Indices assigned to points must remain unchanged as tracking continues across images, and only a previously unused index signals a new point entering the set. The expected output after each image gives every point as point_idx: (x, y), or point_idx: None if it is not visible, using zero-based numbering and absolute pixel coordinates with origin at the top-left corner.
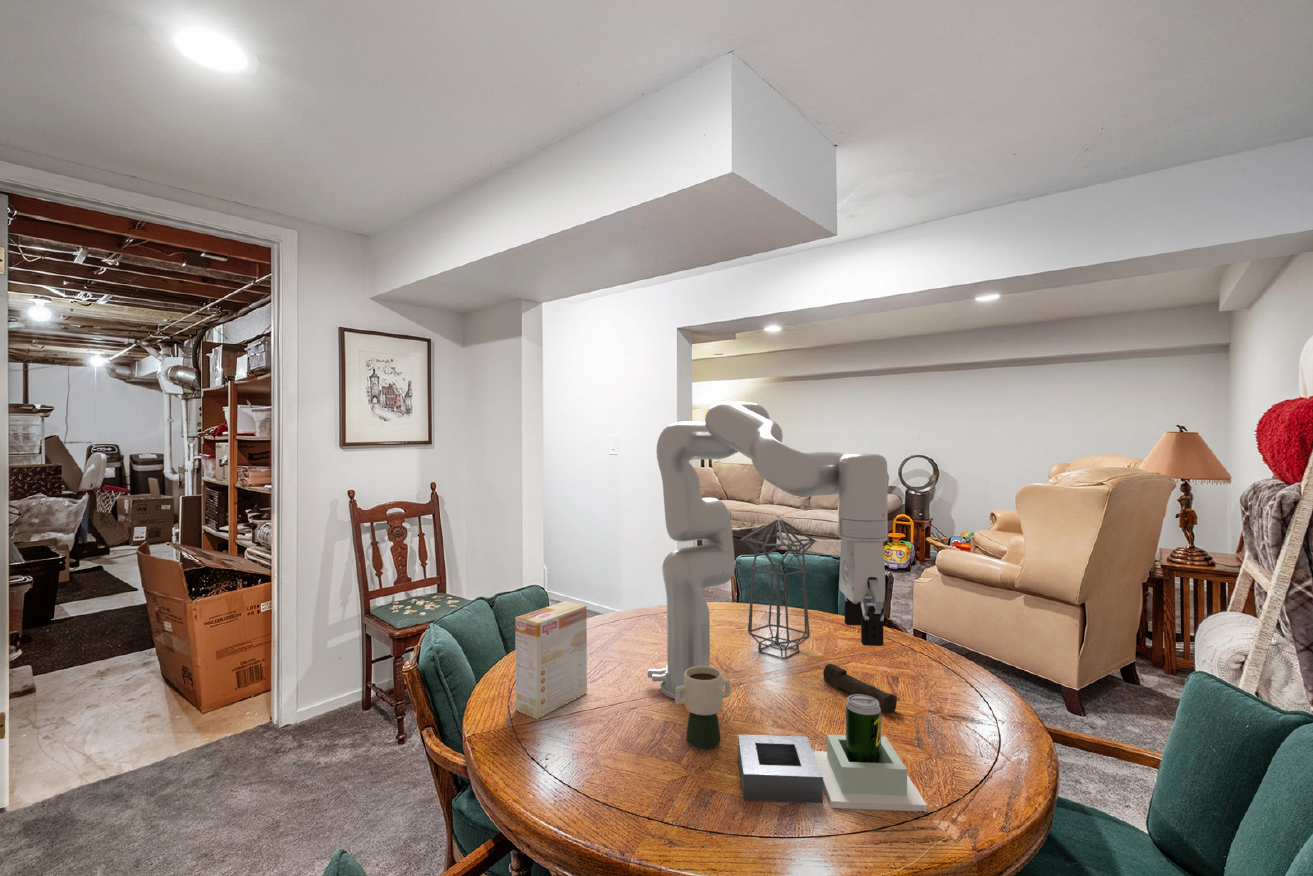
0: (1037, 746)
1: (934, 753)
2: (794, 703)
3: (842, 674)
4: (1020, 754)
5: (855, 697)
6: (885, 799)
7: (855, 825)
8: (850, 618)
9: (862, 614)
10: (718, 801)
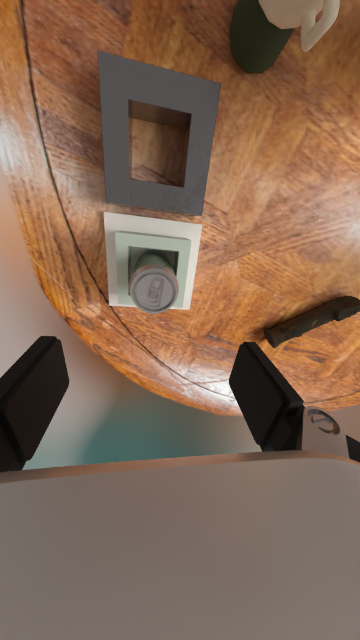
0: (197, 405)
1: (195, 342)
2: (315, 242)
3: (334, 314)
4: (188, 393)
5: (166, 285)
6: (113, 272)
7: (79, 228)
8: (245, 365)
9: (241, 405)
10: (100, 21)
